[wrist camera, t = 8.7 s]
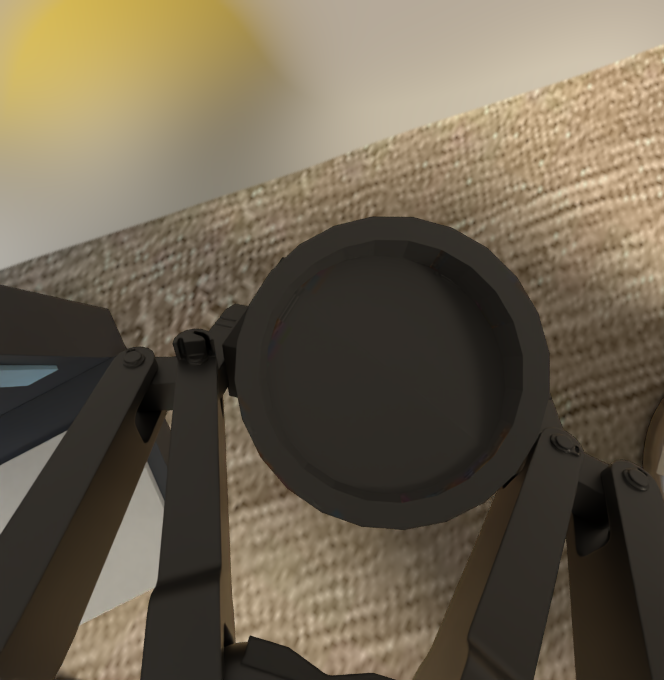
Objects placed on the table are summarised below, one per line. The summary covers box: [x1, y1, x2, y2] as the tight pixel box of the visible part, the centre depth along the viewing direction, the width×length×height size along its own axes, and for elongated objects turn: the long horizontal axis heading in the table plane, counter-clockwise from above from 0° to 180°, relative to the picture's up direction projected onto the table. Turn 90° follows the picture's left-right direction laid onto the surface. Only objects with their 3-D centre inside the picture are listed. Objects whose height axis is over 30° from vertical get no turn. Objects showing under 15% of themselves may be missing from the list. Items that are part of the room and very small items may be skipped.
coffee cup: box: [235, 217, 550, 530], centre depth 15 cm, size 8×8×15 cm
